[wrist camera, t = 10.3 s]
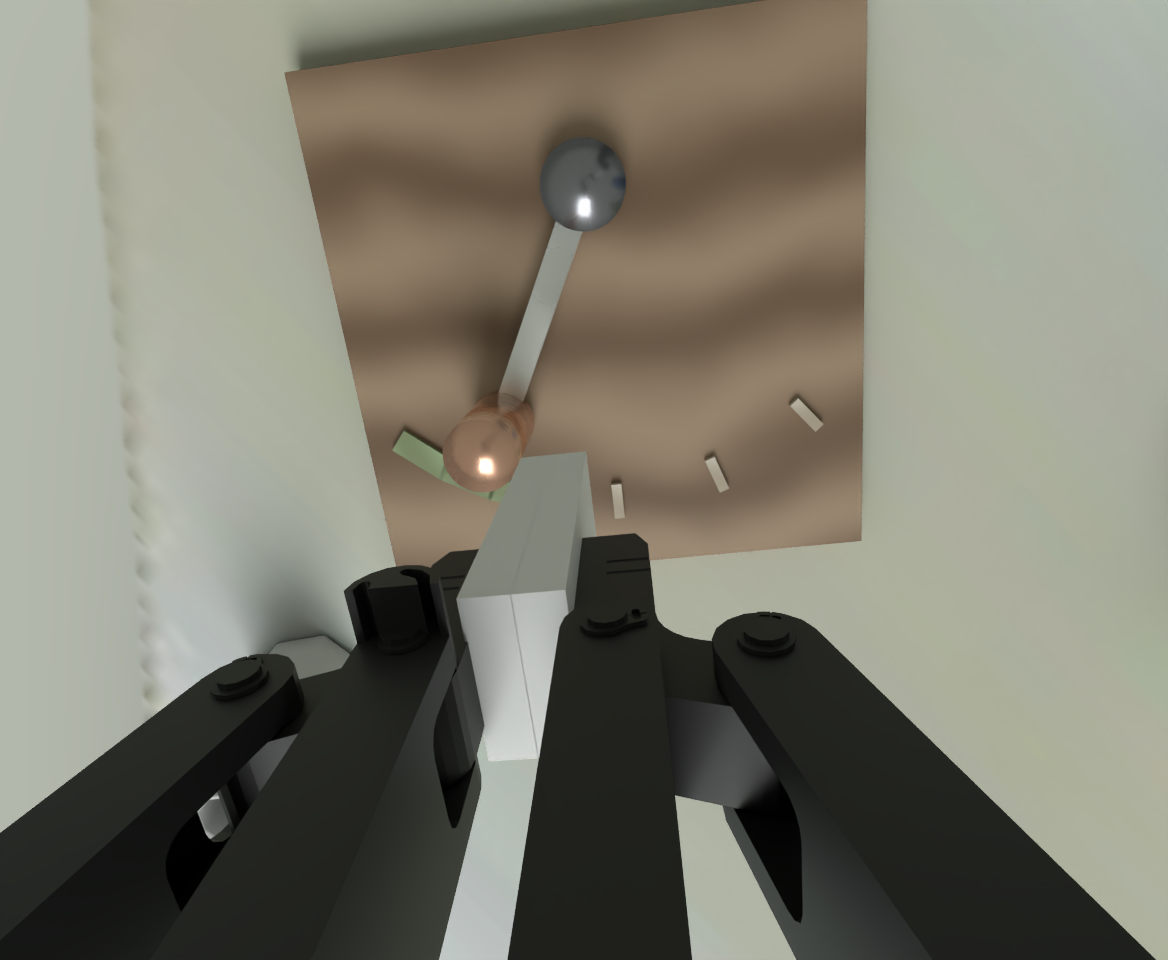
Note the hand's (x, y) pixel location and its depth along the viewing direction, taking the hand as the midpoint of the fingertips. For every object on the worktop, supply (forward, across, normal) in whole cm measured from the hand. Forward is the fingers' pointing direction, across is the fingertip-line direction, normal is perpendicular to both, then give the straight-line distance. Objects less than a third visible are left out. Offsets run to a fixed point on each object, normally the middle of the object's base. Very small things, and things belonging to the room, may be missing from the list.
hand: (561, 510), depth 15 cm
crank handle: (+17, -2, +3) cm, 17 cm away
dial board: (+19, +1, +2) cm, 19 cm away
